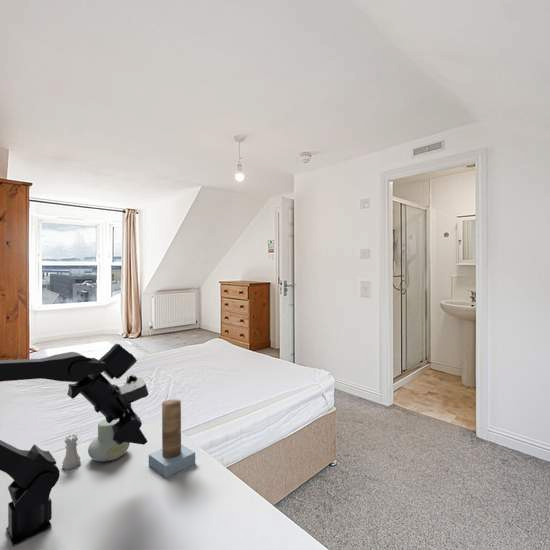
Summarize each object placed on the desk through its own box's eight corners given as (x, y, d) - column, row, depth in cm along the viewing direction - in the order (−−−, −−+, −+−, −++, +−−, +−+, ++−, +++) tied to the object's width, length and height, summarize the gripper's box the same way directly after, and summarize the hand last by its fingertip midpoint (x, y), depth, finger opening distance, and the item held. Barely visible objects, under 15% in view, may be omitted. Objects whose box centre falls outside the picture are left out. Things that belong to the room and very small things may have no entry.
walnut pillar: (174, 459, 89) (174, 406, 90) (158, 456, 91) (158, 404, 91) (184, 450, 94) (184, 400, 94) (169, 447, 95) (169, 398, 96)
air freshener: (100, 469, 90) (99, 432, 90) (82, 461, 94) (82, 426, 95) (134, 451, 100) (134, 417, 100) (117, 444, 104) (117, 412, 104)
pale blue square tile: (166, 477, 86) (165, 466, 86) (148, 465, 92) (148, 454, 92) (195, 463, 93) (195, 452, 93) (177, 452, 99) (177, 442, 99)
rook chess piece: (84, 461, 94) (84, 433, 94) (73, 470, 90) (73, 440, 90) (69, 460, 95) (69, 432, 95) (57, 469, 90) (57, 440, 90)
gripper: (139, 386, 74) (178, 427, 81) (125, 357, 90) (159, 394, 96) (93, 423, 70) (138, 464, 77) (87, 386, 86) (125, 423, 92)
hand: (141, 432), depth 86 cm, fingers open, 9 cm apart
